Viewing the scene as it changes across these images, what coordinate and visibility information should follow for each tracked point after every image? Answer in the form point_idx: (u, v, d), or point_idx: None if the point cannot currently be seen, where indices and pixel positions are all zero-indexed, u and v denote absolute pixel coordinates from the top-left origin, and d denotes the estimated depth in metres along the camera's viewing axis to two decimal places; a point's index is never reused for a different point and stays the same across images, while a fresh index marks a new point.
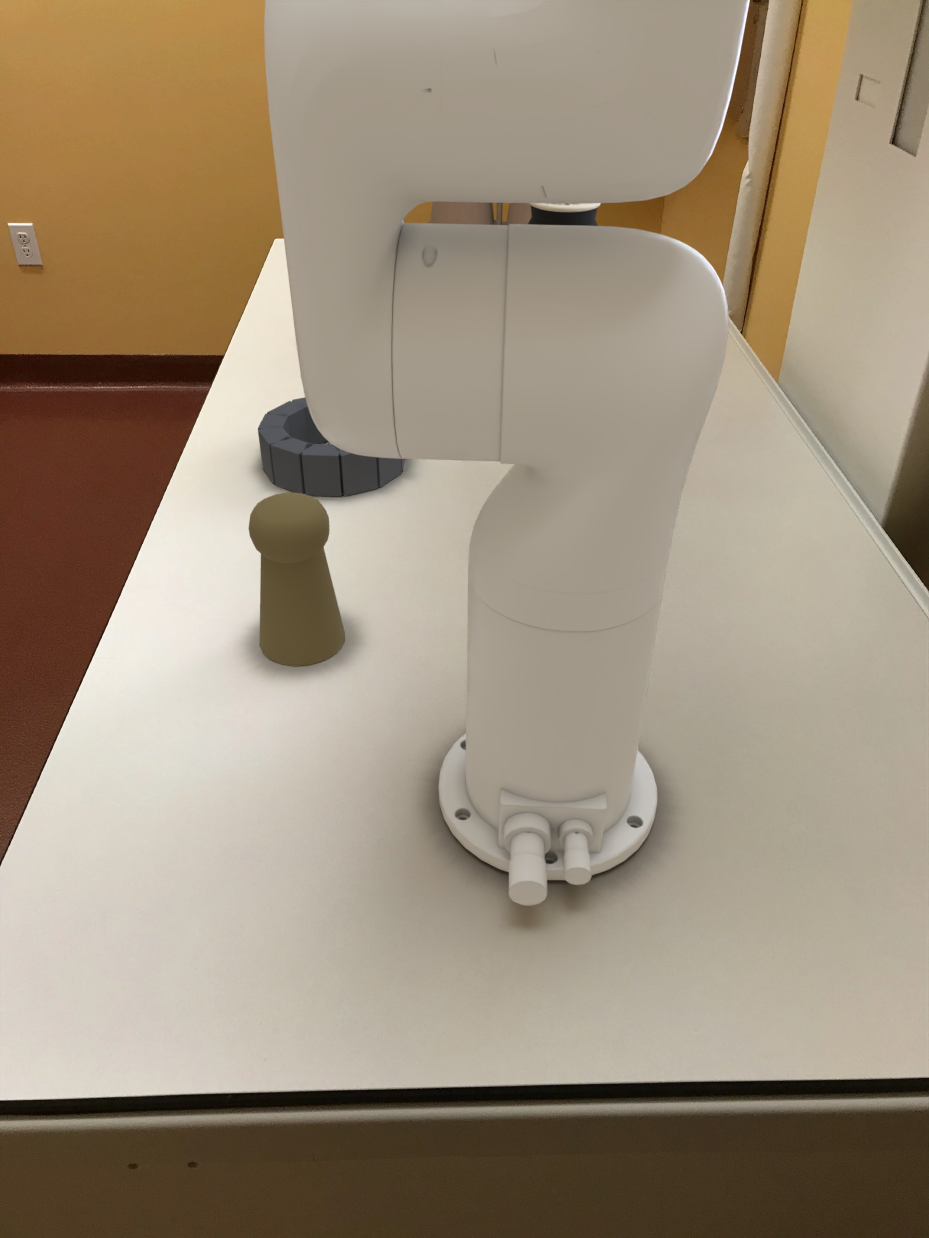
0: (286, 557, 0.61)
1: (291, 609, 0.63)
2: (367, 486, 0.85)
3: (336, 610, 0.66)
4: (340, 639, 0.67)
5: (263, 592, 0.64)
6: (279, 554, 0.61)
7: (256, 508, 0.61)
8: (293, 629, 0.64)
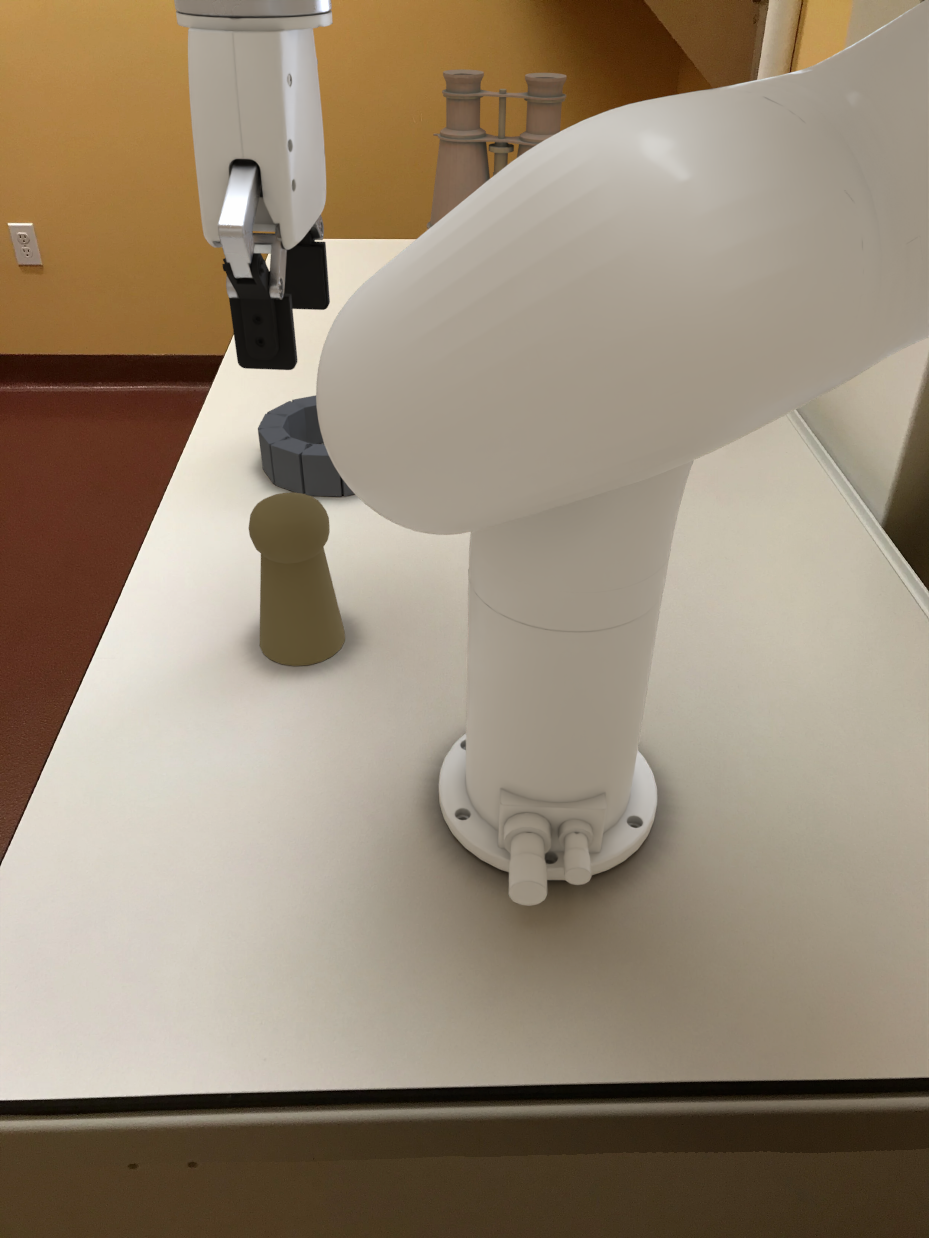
0: (286, 557, 0.61)
1: (291, 609, 0.63)
2: None
3: (336, 610, 0.66)
4: (340, 639, 0.67)
5: (263, 592, 0.64)
6: (279, 554, 0.61)
7: (256, 508, 0.61)
8: (293, 629, 0.64)
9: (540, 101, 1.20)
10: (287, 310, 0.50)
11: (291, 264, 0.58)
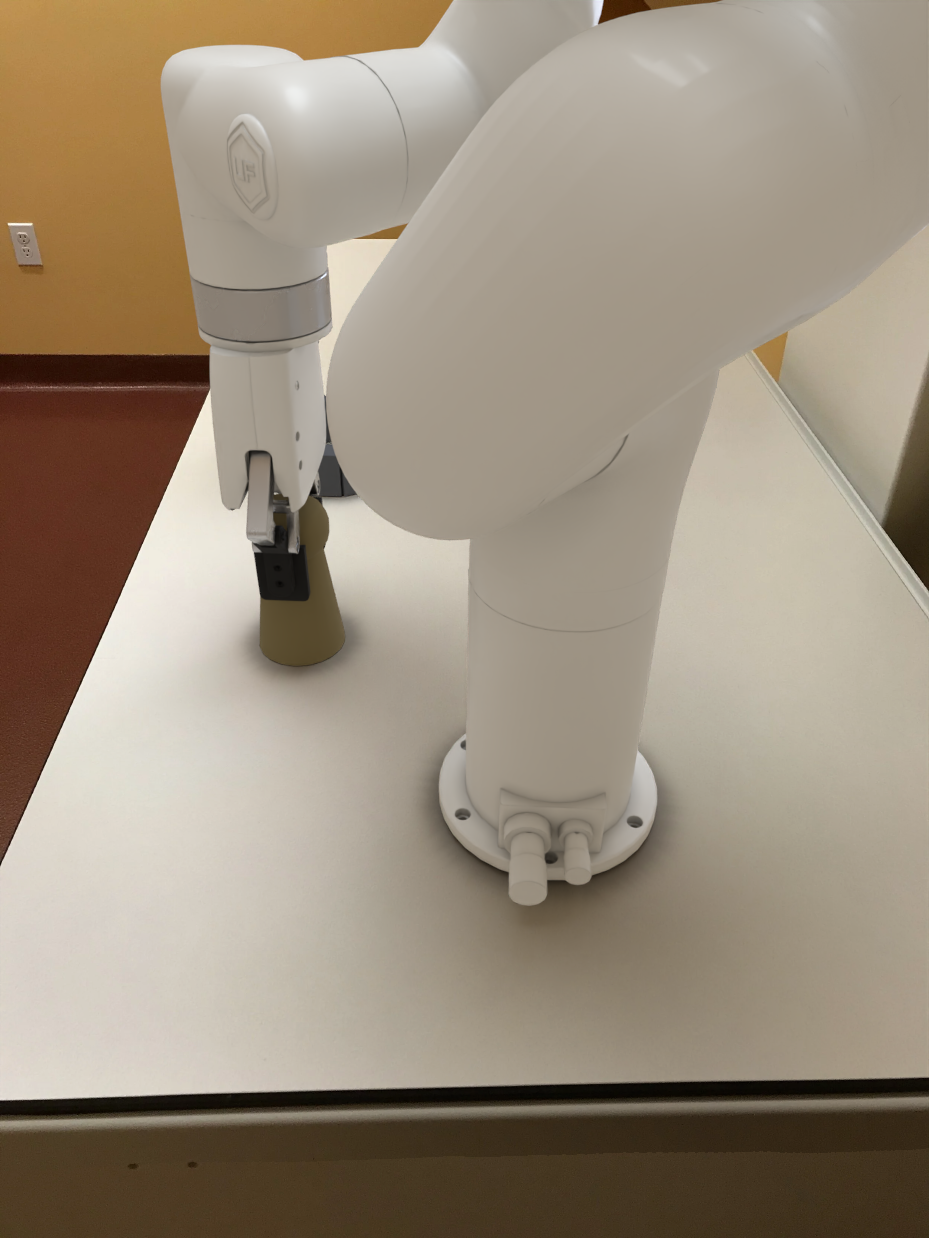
0: None
1: (291, 609, 0.63)
2: None
3: (336, 610, 0.66)
4: (340, 639, 0.67)
5: None
6: None
7: None
8: (293, 629, 0.64)
9: None
10: (302, 558, 0.60)
11: None
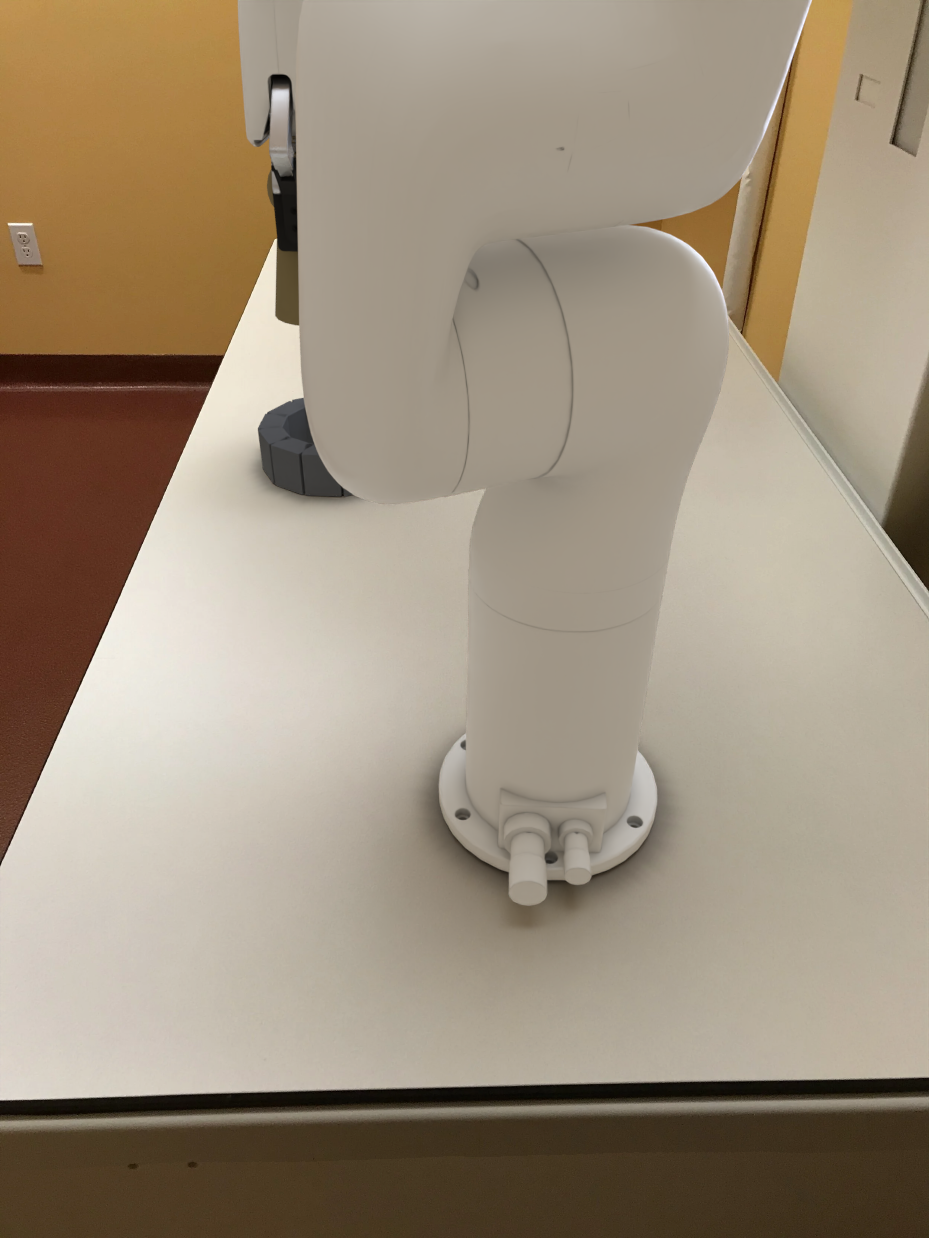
0: None
1: None
2: None
3: None
4: None
5: (279, 253, 0.72)
6: None
7: None
8: None
9: None
10: None
11: None
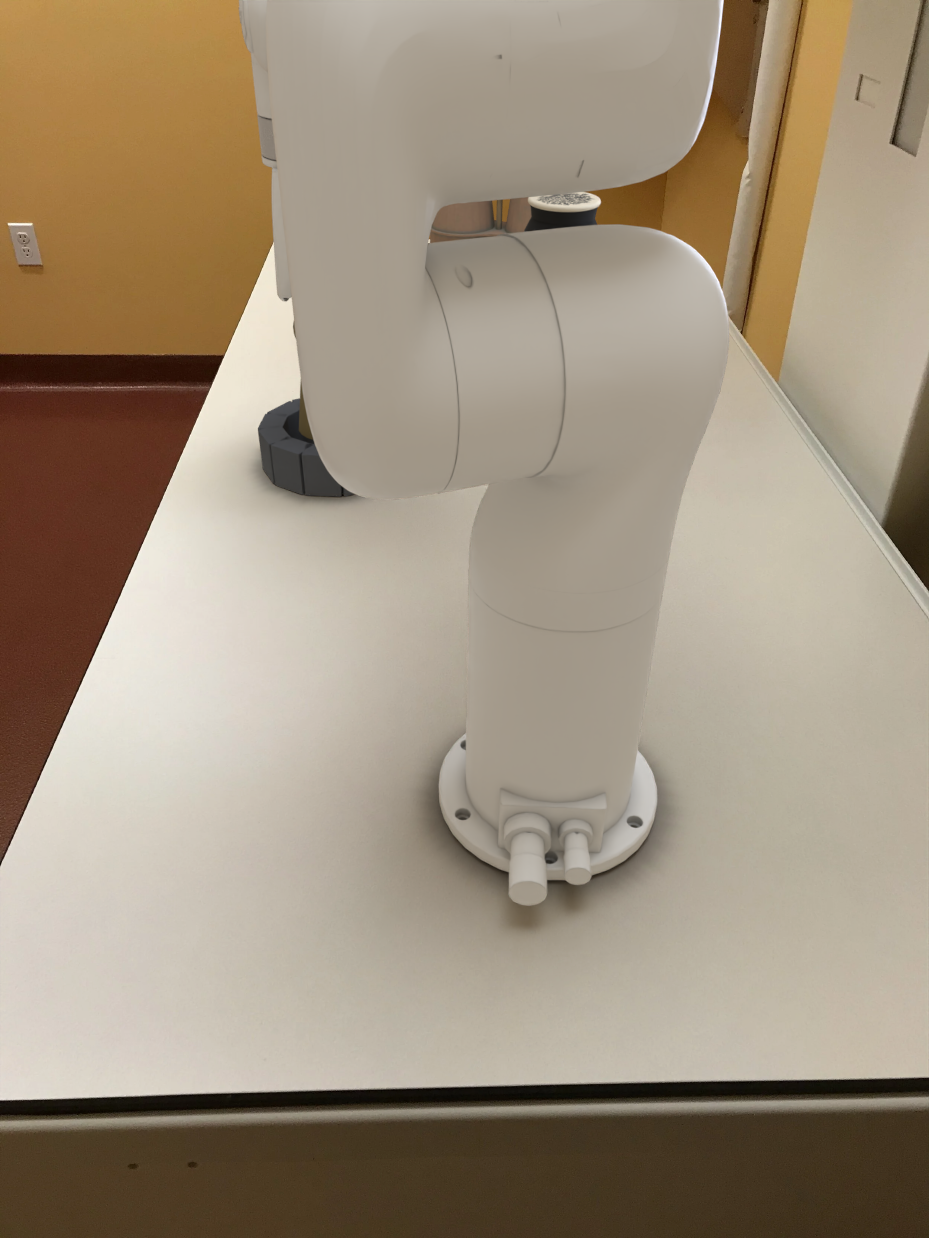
0: None
1: None
2: None
3: None
4: None
5: None
6: None
7: None
8: None
9: None
10: None
11: None
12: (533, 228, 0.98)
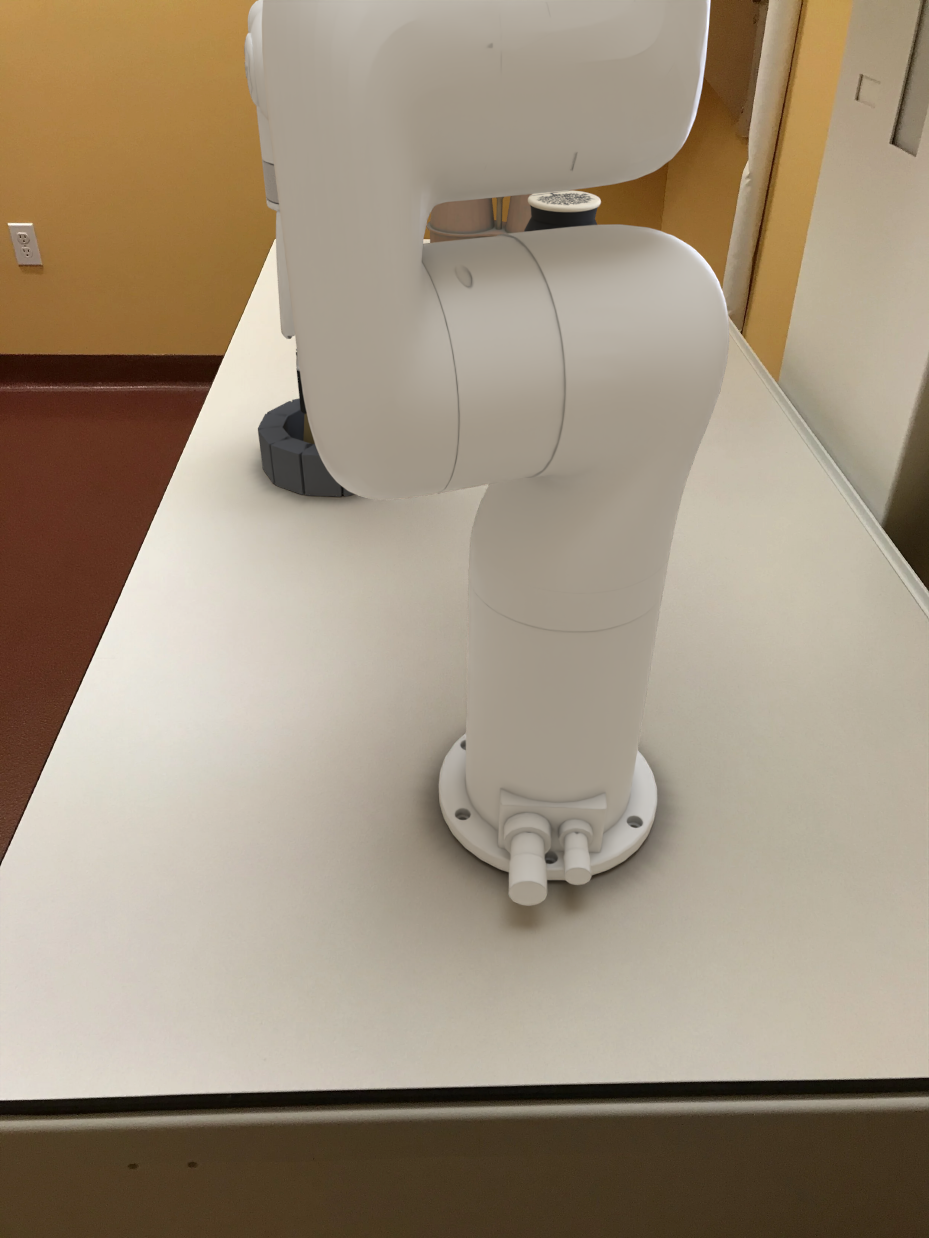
0: None
1: None
2: None
3: None
4: None
5: (307, 419, 0.86)
6: None
7: None
8: None
9: None
10: None
11: None
12: (533, 228, 0.98)
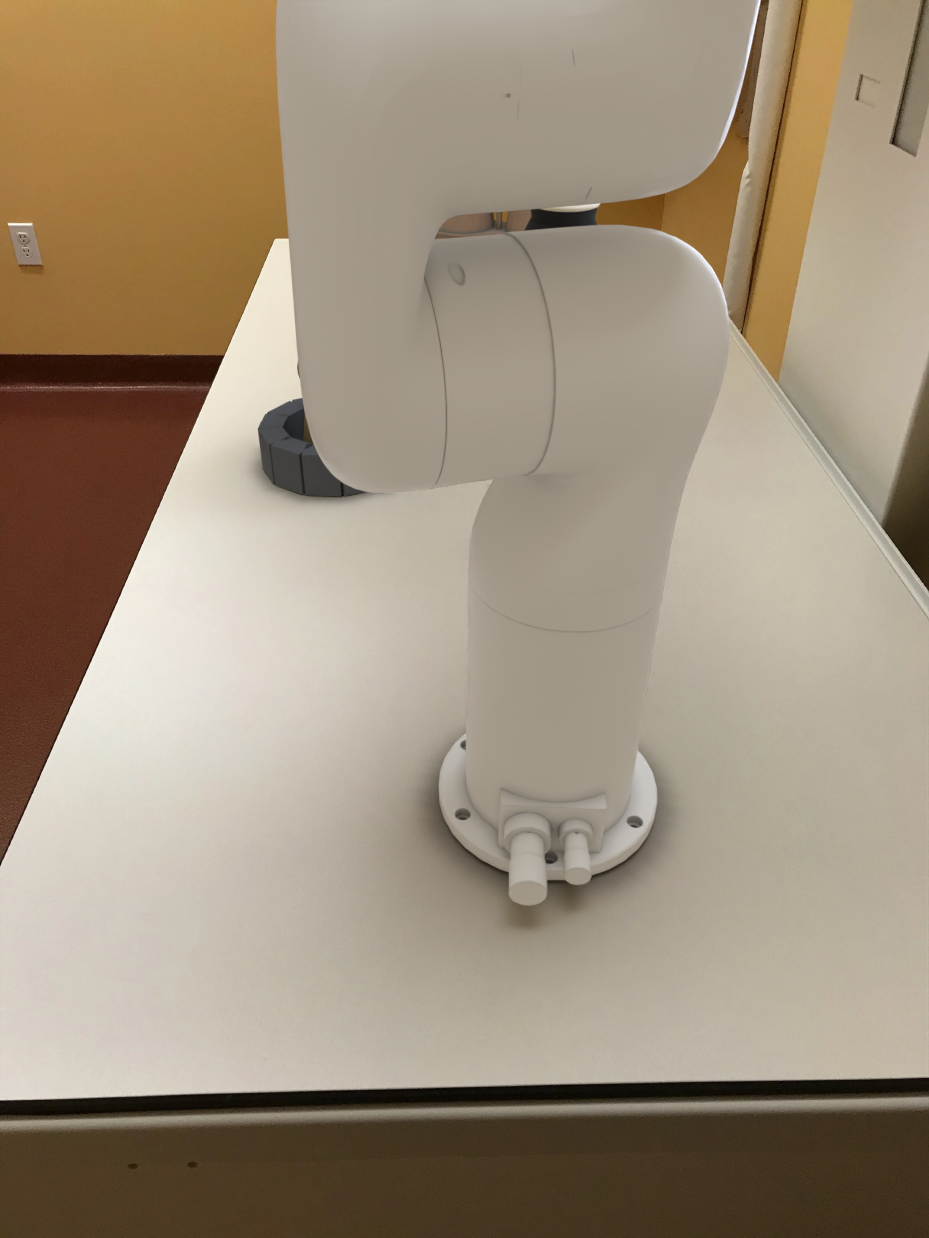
0: None
1: None
2: None
3: None
4: None
5: None
6: None
7: None
8: None
9: None
10: None
11: None
12: (533, 228, 0.98)
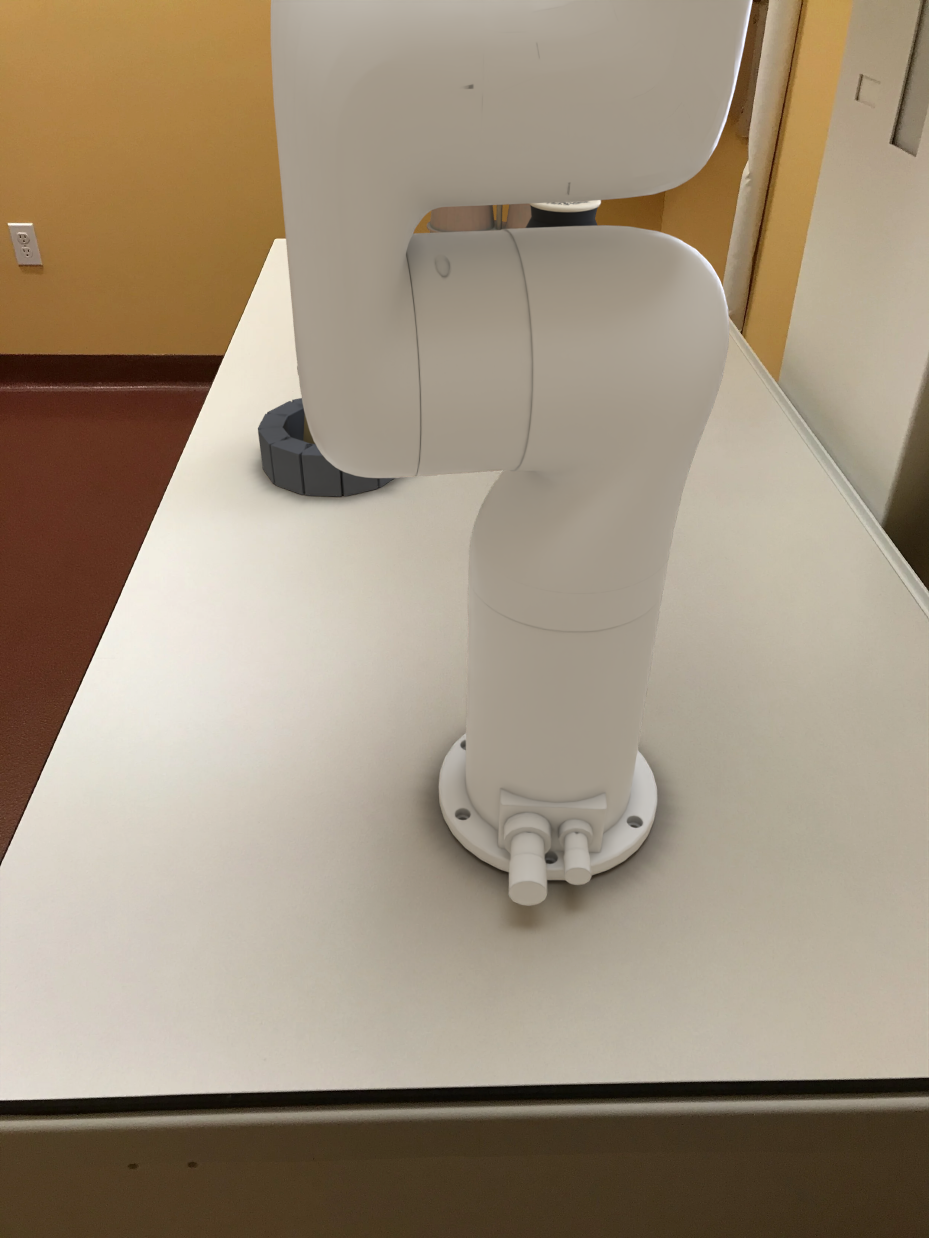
0: None
1: None
2: (367, 486, 0.85)
3: None
4: None
5: None
6: None
7: None
8: None
9: None
10: None
11: None
12: None
